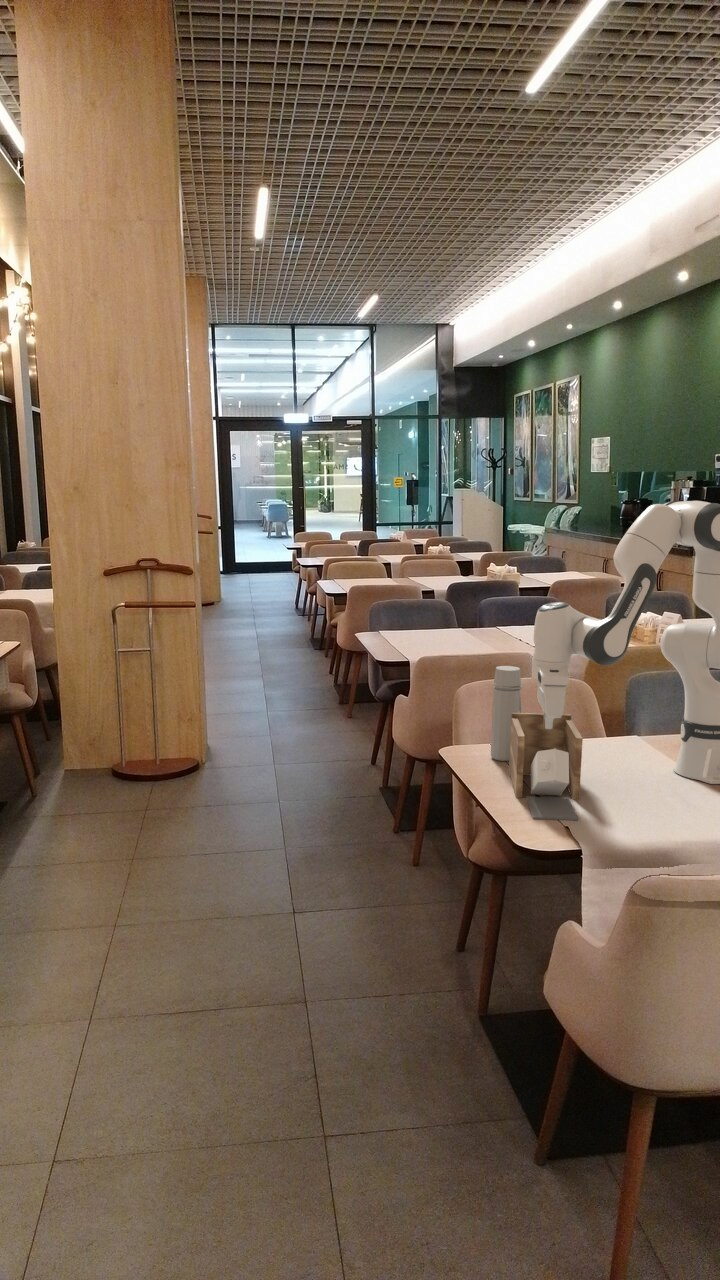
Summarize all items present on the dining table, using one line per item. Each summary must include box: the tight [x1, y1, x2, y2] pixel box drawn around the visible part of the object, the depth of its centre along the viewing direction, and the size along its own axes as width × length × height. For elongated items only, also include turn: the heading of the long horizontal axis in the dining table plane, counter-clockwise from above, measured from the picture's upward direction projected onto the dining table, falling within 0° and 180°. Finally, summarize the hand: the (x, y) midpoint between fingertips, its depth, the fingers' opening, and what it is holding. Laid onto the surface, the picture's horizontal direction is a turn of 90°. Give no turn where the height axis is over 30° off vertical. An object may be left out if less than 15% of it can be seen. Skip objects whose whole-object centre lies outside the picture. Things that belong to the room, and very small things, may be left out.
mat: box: [525, 796, 579, 821], centre depth 220 cm, size 10×14×1 cm
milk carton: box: [530, 748, 569, 796], centre depth 222 cm, size 7×7×19 cm
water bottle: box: [490, 665, 523, 762], centre depth 258 cm, size 9×8×25 cm
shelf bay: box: [508, 712, 583, 800], centre depth 235 cm, size 15×19×16 cm
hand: (547, 727), depth 229 cm, fingers closed
